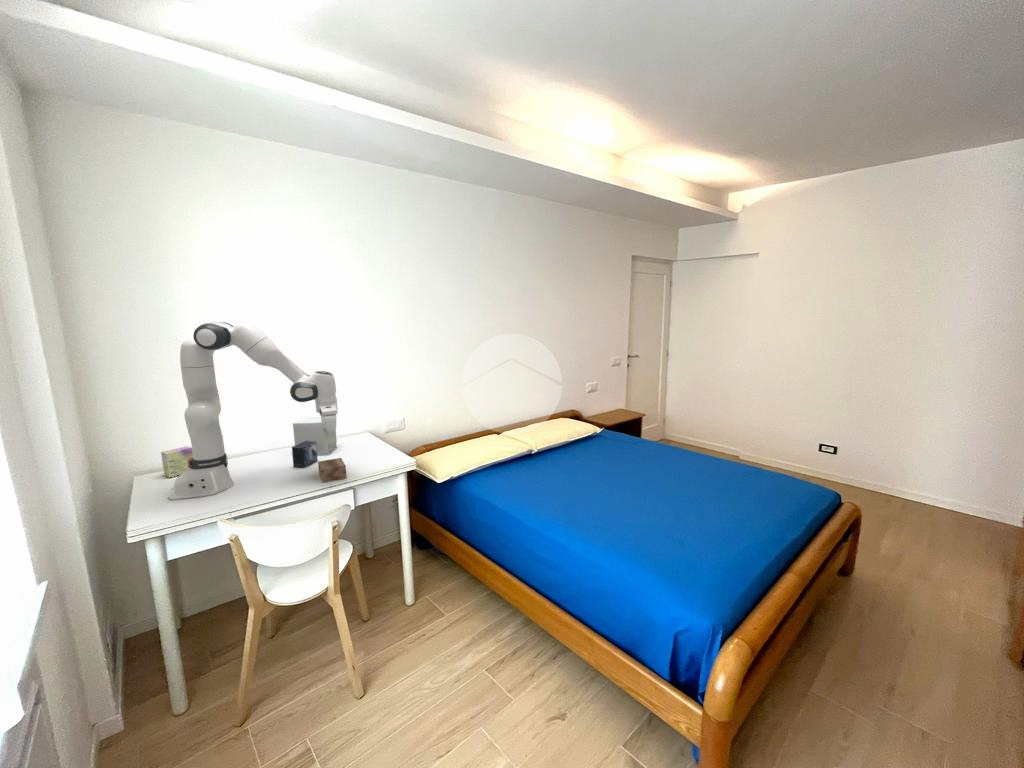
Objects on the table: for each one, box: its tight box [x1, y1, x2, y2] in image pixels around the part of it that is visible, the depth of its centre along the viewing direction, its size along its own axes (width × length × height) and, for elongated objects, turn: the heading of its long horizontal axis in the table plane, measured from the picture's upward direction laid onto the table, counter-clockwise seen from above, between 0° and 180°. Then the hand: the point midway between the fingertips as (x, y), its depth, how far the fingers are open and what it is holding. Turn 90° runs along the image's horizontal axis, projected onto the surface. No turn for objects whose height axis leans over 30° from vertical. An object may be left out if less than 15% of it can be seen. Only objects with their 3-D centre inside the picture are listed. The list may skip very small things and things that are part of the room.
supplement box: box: [292, 416, 338, 456], centre depth 227 cm, size 17×13×18 cm
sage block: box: [322, 428, 338, 444], centre depth 191 cm, size 5×5×6 cm
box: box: [160, 445, 193, 479], centre depth 198 cm, size 10×6×12 cm, turn 149°
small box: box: [291, 441, 319, 469], centre depth 209 cm, size 11×6×10 cm, turn 168°
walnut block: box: [317, 457, 347, 483], centre depth 194 cm, size 10×12×6 cm
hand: (329, 437), depth 191 cm, fingers closed on sage block, 5 cm apart
